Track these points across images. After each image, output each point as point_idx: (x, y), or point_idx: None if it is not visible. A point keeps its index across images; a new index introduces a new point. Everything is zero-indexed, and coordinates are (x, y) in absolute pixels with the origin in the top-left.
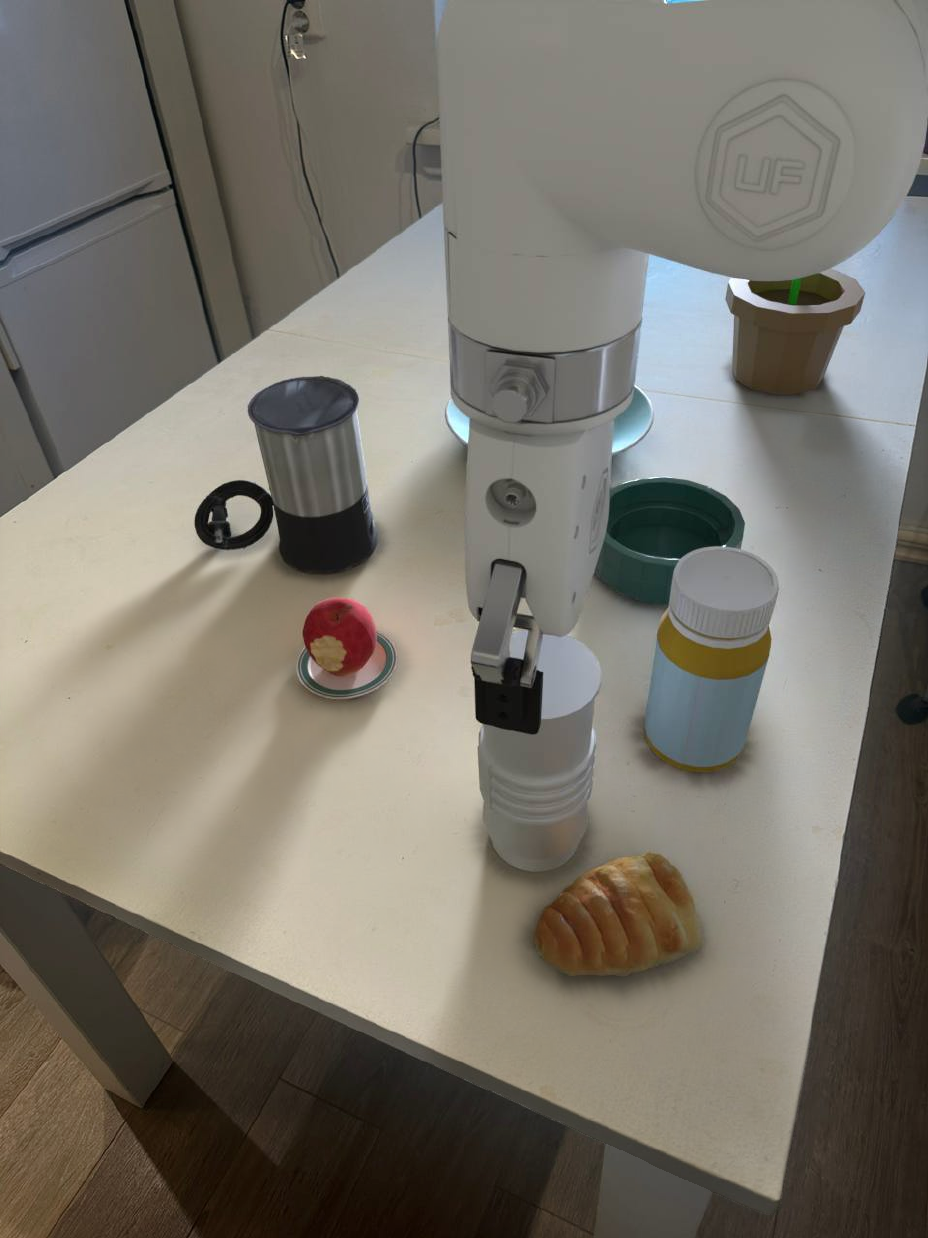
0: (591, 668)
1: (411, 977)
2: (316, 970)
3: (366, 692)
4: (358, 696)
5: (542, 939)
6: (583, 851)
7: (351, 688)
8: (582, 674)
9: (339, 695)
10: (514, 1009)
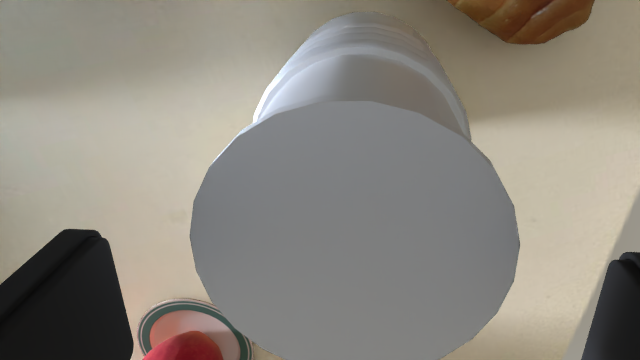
0: (295, 135)
1: (589, 167)
2: (589, 257)
3: None
4: None
5: (560, 33)
6: (377, 6)
7: (229, 330)
8: (326, 154)
9: (245, 340)
10: (623, 42)
